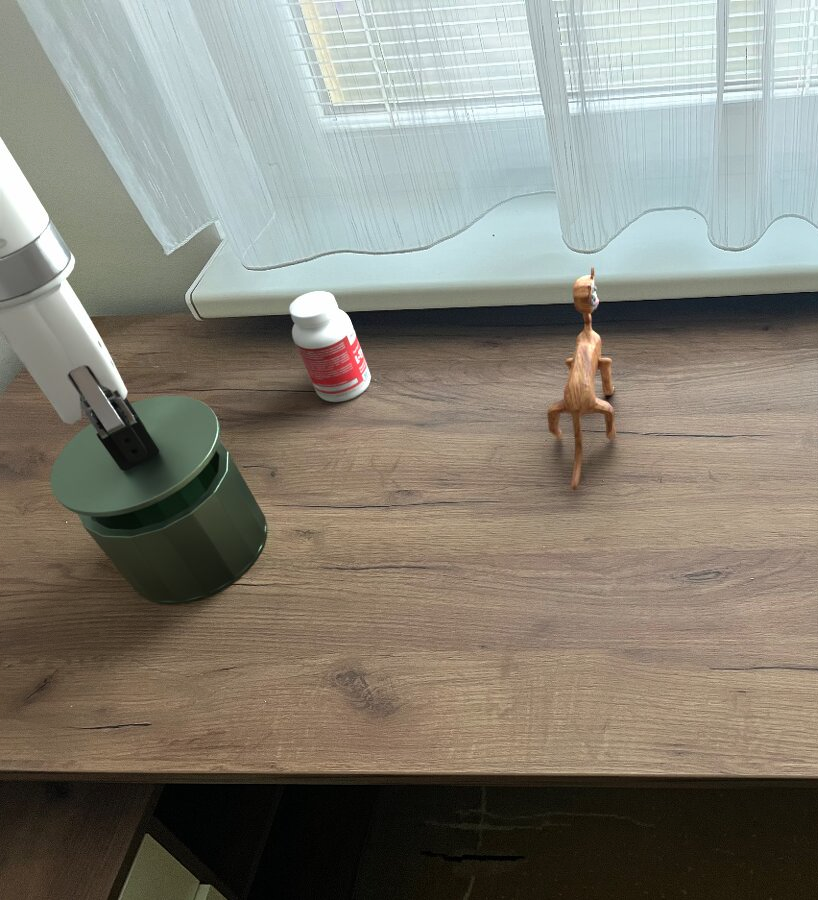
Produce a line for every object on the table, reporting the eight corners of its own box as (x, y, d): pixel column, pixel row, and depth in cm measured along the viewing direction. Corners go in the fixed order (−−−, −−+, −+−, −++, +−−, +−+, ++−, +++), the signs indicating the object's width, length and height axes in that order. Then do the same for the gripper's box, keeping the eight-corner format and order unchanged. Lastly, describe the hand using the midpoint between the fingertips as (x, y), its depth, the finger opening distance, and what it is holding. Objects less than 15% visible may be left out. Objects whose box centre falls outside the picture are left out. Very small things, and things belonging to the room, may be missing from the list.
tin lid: (81, 550, 67) (36, 496, 63) (40, 458, 75) (-2, 405, 71) (247, 461, 72) (217, 406, 68) (192, 384, 80) (162, 330, 76)
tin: (155, 630, 76) (99, 562, 69) (114, 546, 83) (61, 477, 76) (288, 552, 80) (249, 481, 74) (238, 479, 88) (198, 409, 81)
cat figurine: (610, 499, 81) (594, 387, 71) (540, 498, 82) (516, 387, 72) (628, 374, 94) (617, 264, 84) (567, 374, 94) (550, 266, 85)
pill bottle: (378, 391, 96) (348, 308, 88) (324, 411, 94) (288, 329, 86) (363, 361, 100) (333, 279, 92) (311, 380, 98) (275, 299, 91)
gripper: (-71, 239, 63) (65, 423, 76) (-30, 336, 53) (117, 529, 66) (36, 199, 66) (149, 383, 79) (93, 284, 56) (211, 479, 69)
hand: (133, 448), depth 73 cm, fingers closed on tin lid, 2 cm apart
